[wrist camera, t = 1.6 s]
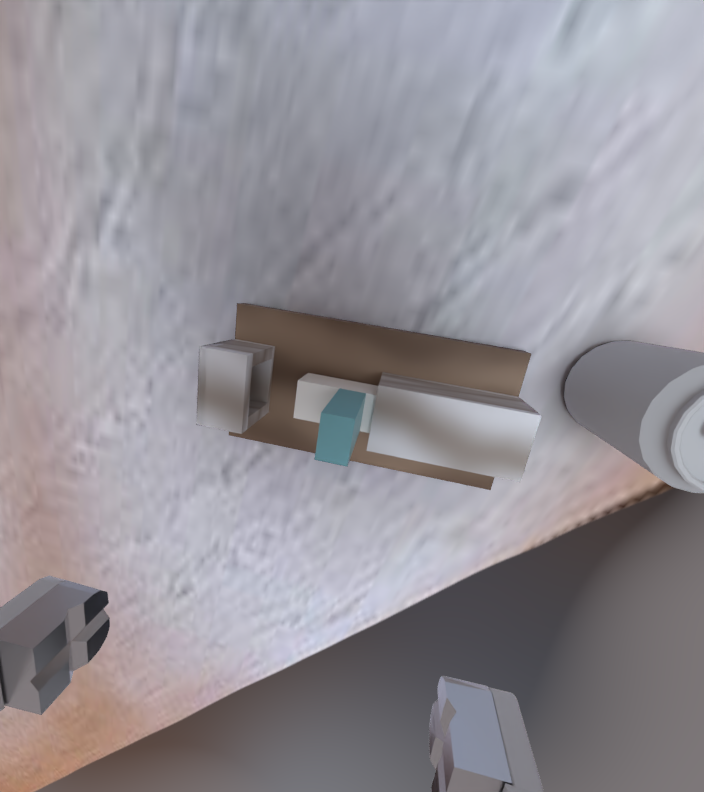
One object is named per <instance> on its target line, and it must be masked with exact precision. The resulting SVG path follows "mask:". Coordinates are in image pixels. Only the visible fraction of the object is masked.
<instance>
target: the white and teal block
mask: <svg viewBox="0 0 704 792" xmlns="http://www.w3.org/2000/svg"><path fill="white" fill-rule="evenodd" d="M377 391H378V386H376V385H371V384H366V383H360V382H355V381H350V380H344V379H339V378H334V377H328V376H323V375H318V374H312V373H307V374H306V375H304V376H303V377H302V378H300V379H299V380H298V383H297V391H296V400H295V408H294V417H293V418H296V419H301V420H306V421H311V422H316V423H320V424H319V431H318V438H317V446H316V453H315V460H319V461H324V462H328V463H333V464H338V465H342V466H348V463H349V460H350V457H351V455H352V452H353V449H354V446H355V443H356V440H357V437H358V435H359V432H360V431H361V432H366V433H370V429H371V423H372V418H373V413H374V407H375V402H376V396H377Z"/></svg>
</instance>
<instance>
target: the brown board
mask: <svg viewBox="0 0 704 792" xmlns="http://www.w3.org/2000/svg"><path fill="white" fill-rule="evenodd" d="M530 356H531V353H528V352H526V351H521V350H515V349H509V348H503V347H497V346H491V345H485V344H480V343H474V342H468V341H462V340H456V339H450V338H444V337H439V336H433V335H427V334H421V333H415V332H409V331H403V330H398V329H392V328H386V327H380V326H374V325H368V324H362V323H357V322H351V321H345V320H339V319H333V318H327V317H321V316H316V315H310V314H304V313H298V312H292V311H286V310H280V309H275V308H269V307H263V306H257V305H251V304H245V303H237V316H236V331H235V339H233V340H228V341H223V342H218V343H214V344H209V345H204V346H199V369H198V396H197V423H196V425H201V426H205V427H210V428H215V429H220V430H225V431H229V435H231V436H236V437H241V438H245V439H250V440H255V441H260V442H264V443H269V444H274V445H279V446H283V447H288V448H293V449H298V450H303V451H307V452H312V453H316V446H317V438H318V431H319V424H320V423H316V422H311V421H306V420H301V419H296V418H293V417H294V408H295V400H296V391H297V383H298V380H299V379H300V378H302V377H303V376H304V375H306V374H307V373H312V374H318V375H323V376H328V377H334V378H339V379H344V380H350V381H355V382H360V383H366V384H371V385H376V386H378V391H377V396H376V402H375V407H374V413H373V418H372V423H371V429H370V433H366V432H361V431H360V432H359V435H358V437H357V440H356V443H355V446H354V449H353V452H352V455H351V457H350V461H355V462H360V463H364V464H369V465H374V466H379V467H384V468H388V469H393V470H398V471H403V472H407V473H412V474H417V475H422V476H426V477H431V478H436V479H441V480H445V481H450V482H455V483H460V484H465V485H469V486H474V487H479V488H484V489H488V490H491V486H492V483H493V480H494V477H497V478H501V479H506V480H511V481H516V482H521V479H522V476H523V472H524V469H525V466H526V463H527V460H528V457H529V454H530V451H531V448H532V445H533V442H534V438H535V435H536V432H537V429H538V426H539V423H540V420H541V417H542V416H541V415H540V414H539V413H538V412H536V411H535V410H534V409H533V408H532V407H530V406H529V405H528V404H527V403H525V402H524V401H523V400H522V399H521V398H519V397H518V396H519V393H520V390H521V386H522V383H523V380H524V376H525V373H526V370H527V366H528V363H529V360H530Z"/></svg>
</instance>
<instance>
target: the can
mask: <svg viewBox="0 0 704 792" xmlns="http://www.w3.org/2000/svg"><path fill="white" fill-rule="evenodd" d="M564 399H565V402H566V406H567V410H568V411H569V413H570V414H571V415H572V417H573V418H574V419H575V421H576V422H578V423H579V424H581V425H582V426H584V427H585V428H586V429H588V430H589V431H591V432H592V433H594V434H595V435H597V436H598V437H600V438H601V439H603V440H604V441H605V442H607V443H608V444H610V445H611V446H613V447H614V448H616V449H617V450H619V451H620V452H622V453H623V454H624V455H626V456H627V457H629V458H630V459H632V460H633V461H635V462H636V463H638V464H639V465H641V466H642V467H643V468H645V469H646V470H648V471H649V472H651V473H652V474H654V475H655V476H657V477H658V478H660V479H661V480H663V481H664V482H666V483H667V484H669V485H670V486H672V487H675V488H678V489H682V490H686V491H689V492H692V493H704V353H703V352H697V351H691V350H685V349H679V348H672V347H666V346H660V345H654V344H648V343H642V342H636V341H613V342H610V343H607V344H604V345H601V346H598V347H595V348H594V349H592V350H591V351H589V352H588V353H586V354H585V355H583V356H582V357H581V358H580V359H579V361H578V362H577V363H576V364H575V365H574V366H573V367H572V369H571V371H570V373H569V375H568V378H567V380H566V382H565V391H564Z"/></svg>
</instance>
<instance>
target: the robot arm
mask: <svg viewBox="0 0 704 792" xmlns="http://www.w3.org/2000/svg"><path fill="white" fill-rule="evenodd" d="M108 603H109V602H108V594H107V592H105V591H102V590H98V589H95V588H91V587H88V586H84V585H81V584H78V583H74V582H71V581H67V580H63V579H60V578H56V577H52V576H47V577H44V578H41V579H39V580H38V581H36V582H35V583H33V584H32V585H31V586H29V587H28V588H27V589H25V590H24V591H22V592H21V593H20V594H18V595H17V596H16V597H14V598H13V599H11V600H10V601H9V602H7V603H6V604H5V605H3V606H2V607H0V711H1V710H3V709H4V708H5V707H4V705H5V706H9V707H12V708H16V709H20V710H24V711H28V712H32V713H36V714H39V715H42V714H43V712H44V711H45V710H46V709H47V708H48V707H49V706H50V705H51V704H52V703H53V701H54V700H55V699H56V698H57V697H58V696H59V695H60V694H61V693H62V692H63V690H64V689H65V688H66V687H67V686H68V685H69V684H70V682H71V678H72V674H73V671H74V670H76V669H78V668H80V667H82V666H84V665H85V664H87V663H89V662H90V660H91V659H92V658H93V657H94V656H95V655H96V653H97V652H98V651H99V650H100V648H101V646H102V644H103V643H104V641H105V639H106V637H107V634H108V631H109V627H110V622H109V617H108V615H107V614H106V612H105V611H104V608H105V606H106V605H107V604H108ZM437 688H438V700H437V701H436V702H434V703H433V707H432V711H431V717H430V727H429V753H430V760H431V762H432V764H433V766H434V768H435V769H436V772H435V775H434V779H433V782H432V786H431V790H432V792H544V791H543V787H542V784H541V780H540V777H539V773H538V770H537V767H536V763H535V760H534V756H533V753H532V750H531V746H530V742H529V739H528V736H527V732H526V729H525V725H524V722H523V719H522V715H521V711H520V708H519V705H518V701H517V699H516V697H515V696H514V694H513V693H510V692H506V691H502V690H498V689H494V688H489V687H487V686H484V685H480V684H476V683H472V682H467V681H463V680H459V679H454V678H450V677H446V676H442V677H441V678H440V680H439V684H438V687H437Z"/></svg>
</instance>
